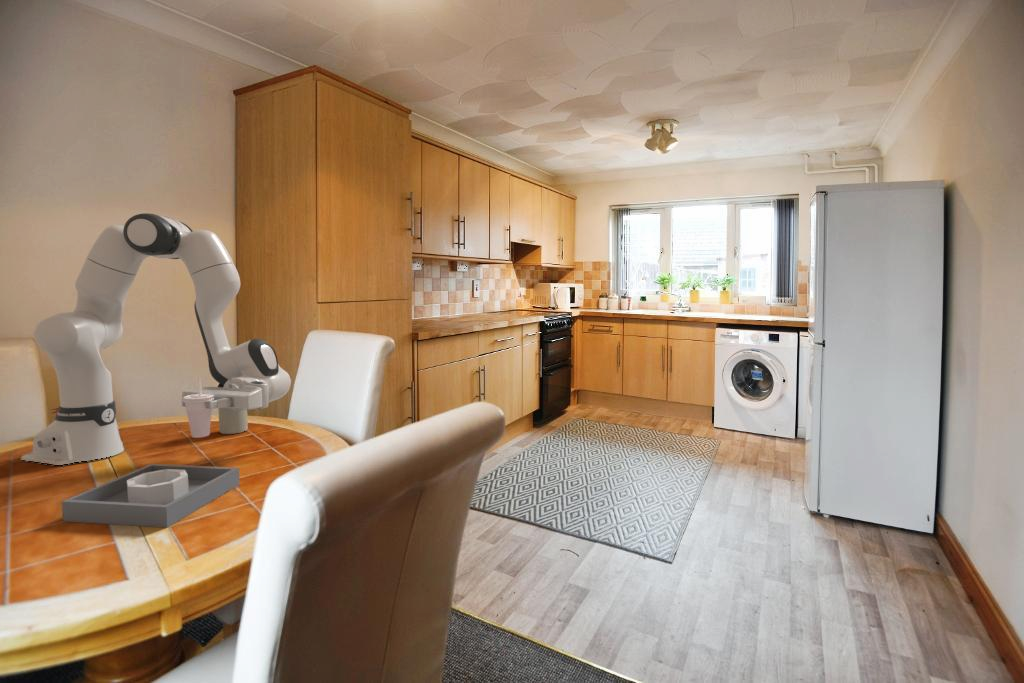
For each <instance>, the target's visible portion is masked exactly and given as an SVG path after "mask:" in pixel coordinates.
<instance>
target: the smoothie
mask: <svg viewBox="0 0 1024 683" xmlns="http://www.w3.org/2000/svg"><path fill="white" fill-rule="evenodd" d="M197 382H198V388H199V394H193V395H188V396H185V397H183V402H185V406H186V407H185V410H186V411H185V412H186V415H187V420H188V425H189V429H190V434H191V437H192V438H205V437H209V436H210V434H211V422H212V420H211V419H212V411H213V409H207V408H206V406H207V405H206V402H207V401H211V400H213V399H214V395H213V394H202V389H201V387H202V378H201V377H200V378H198V379H197Z"/></svg>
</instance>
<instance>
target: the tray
mask: <svg viewBox="0 0 1024 683" xmlns="http://www.w3.org/2000/svg"><path fill="white" fill-rule="evenodd" d="M239 484H240V485H241V483H240V468H239V467H227V466H225V467H223V466H221V467H220V466H203V465H202V466H201V465H183V464H161V463H158V464H157V463H151V464H148V465H146V466H144V467H142V468H138V469H136V470H134V471H131V472H128V473H126V474H124V475H122V476H119V477H117V478H114V479H112V480H110V481H107V482H105V483H102V484H100V485H98V486H96V487H92V488H90V489H88V490H86V491H83V492H81V493H78V494H77V495H73V496H72V497H69V498H66V499H64V500H62V501H61V511H62V521H63V522H68V523H69V522H71V523H84V524H85V523H87V524H88V523H89V524H104V525H105V524H106V525H118V526H120V525H121V526H122V525H123V526H136V527H137V526H138V527H151V528H153V527H155V528H156V527H157V528H169V527H171V526H173V525H174V524H176V523H177V522H180V521H181V520H183V519H184V518H186V517H188V516H189V515H191V514H193V513H194V512H196V511H198V510H200V509H201V508H203V507H205V506H206V505H208V504H210V503H211V502H213V501H214V499H215V500H216V499H218V498H220V497H222V496H224V495H225V494H227V493H228V492H229V490H230V491H232V490H233V489H235V488H236V486H237V487H238V486H240V485H239ZM231 489H232V490H231ZM227 491H228V492H227ZM226 492H227V493H226ZM224 493H225V494H224ZM219 496H220V497H219ZM217 497H218V498H217ZM212 500H213V501H212ZM209 502H210V503H209ZM207 503H208V504H207ZM204 505H205V506H204ZM202 506H203V507H202ZM199 508H200V509H199ZM197 509H198V510H197Z"/></svg>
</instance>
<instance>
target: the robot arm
mask: <svg viewBox="0 0 1024 683" xmlns="http://www.w3.org/2000/svg"><path fill="white" fill-rule="evenodd" d="M90 248H91V249H90V250H89V252H88V254H87V256H86V258H85V261H84V262H83V264H82V267H81V269H80V272H79V274H78V276H77V278H76V281H75V283H74V287H75V290H76V291H77V301H76V306H75V308H74V310H73V311H67V312H60V313H56V314H53V315H50V316H48V317H46V318H44V319H42V320H41V321H40V322H39V323H37V324H36V326H35V328H34V332H33V337H34V341H35V343H36V345H37V346H38V348H40V350H41V351H43V352H45V354H46V355H47V356H48V358H49V359H50V362H51V364H52V367H53V369H54V371H55V374H56V378H57V384H58V385H57V386H58V393H59V406H58V407H56V408H52V409H51V414H55V416H54V417H55V418H54V421H52V422H51V423H49V424H48V425H47V426H46V427H45V428H44V429H42V430H40V432H38V433H37V434H36V435H35V436H34V437H33V441H32V451H30V452H28V453H25V454H23V455H22V456H21V458H20V461H22V460H26V461H25V462H28V461H34V462H41V463H49V464H54V465H63V464H68V465H70V464H69V463H73V464H75V463H74V462H79V463H82V462H81V461H87V462H89V461H88V460H93V461H95V460H94V459H98V460H102V459H101V458H103V459H106V457H107V458H110V456H111V457H113V456H117V455H119V454H121V453H123V452H124V451H125V447H124V446H123V445H124V444H123V441H122V439H121V436H120V431H119V427H118V422H117V419H116V415H117V405H116V401H115V400H114V395H113V394H114V392H113V379H112V378H113V377H112V376H113V375H112V373H111V371H110V370H109V369H107V367H106V366H105V364H104V362H103V360H102V357H101V354H100V350H104V349H107V348H109V347H112V346H113V345H115V343H117V342H118V341H120V340H121V338H122V336H123V332H124V326H123V324H122V318H123V313H124V312H123V311H124V305H125V302H126V300H127V297H128V295H129V292H130V289H131V288H132V285H133V283H134V281H135V278H136V276H137V273H138V272H139V269H140V267H141V265H142V263H143V262H144V260H146V259H147V258H148V257H154V258H158V259H170V260H179V259H180V260H181V261H182V262H183V263H184V265H185V267H186V269H187V270H188V273H189V276H190V278H191V280H192V282H193V288H194V292H195V300H194V304H193V306H194V313H195V316H196V321H197V325H198V328H199V330H200V331H199V332H200V334H201V337H202V341H203V344H204V347H205V350H206V355H207V361H208V370H209V374H210V375H211V377H212V378H213V380H215V381H216V382H217V383H218V384H219V383H220V384H222V385H224V387H223V388H222V387H218V386H201V389H202V394H213V395H214V399H213V400H211V401H207V402H206V405H207V406H206V408H207V409H212V410H214V409H218V408H229V409H232V410H235V411H242V410H247V411H248V410H254V409H262V410H263V409H266V408H268V407H269V403H272V402H274V401H277V400H279V399H281V398H283V397H284V396H286V395H287V393H288V392H289V390H290V388H291V384H292V379H291V377H290V374H289V373H288V371H286V370H285V369H283V368H282V367H281V366H280V365H279V360H278V356H277V353H276V351H275V349H274V348H273V346H272V345H271V344H270V343H269V342H267V341H265V340H264V339H261V338H253V339H250V340H248V341H245V342H243V343H240V344H238V345H236V346H234V347H231V346H230V343H229V341H228V337H227V334H226V329H225V327H224V324H223V316H224V313H225V311H226V309H227V308H228V306H229V305H230V304H231V303H232V301H234V299H235V298H236V296H237V295H238V293H239V292H240V289H241V278H240V274H239V272H238V269H237V267H236V265H235V264H234V261H233V258H232V257H231V255H230V253H229V251H228V250H227V247H225V244H224V243H223V242H222V240H221V238H220V237H219V236H218V235H217V234H216V233H215V232H213V231H211V230H207V229H197V230H193V229H192V228H191V227H190V226H188V225H187V224H186V223H184V222H182V221H178V220H177V219H174V218H173V217H172V218H171V217H168V216H162V215H158V214H155V213H150V212H149V213H139V214H134V215H132V216H131V217H130V218H128V220H126V222H125V224H124V225H122V224H121V225H120V224H114V225H109V226H107V227H105V229H104V230H103V231H102V232H101V233H100V234H99V235H98V237H97V239H96V240H95V241H94V243H93V244H92V247H90ZM193 394H199V387H195V388H190V389H185V390H183V391H182V393H181V407H185V408H186V406H185V402H183V397H185V396H188V395H193ZM34 462H33V463H34ZM41 463H40V464H41ZM54 465H53V466H54ZM63 466H64V465H63Z"/></svg>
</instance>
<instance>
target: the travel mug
mask: <svg viewBox="0 0 1024 683" xmlns="http://www.w3.org/2000/svg"><path fill="white" fill-rule="evenodd" d="M217 387H222V388H223V387H224V385H222V384H220V383H218V385H217ZM217 409H218V426H219V429H218V430H219V433H220V434H223V435H238V434H242V433H244V431H245V432H246V431H248V429H249V428H248V427H249V425H248V410H242V411H235V410H232V409H229V408H217ZM237 433H238V434H237Z"/></svg>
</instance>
